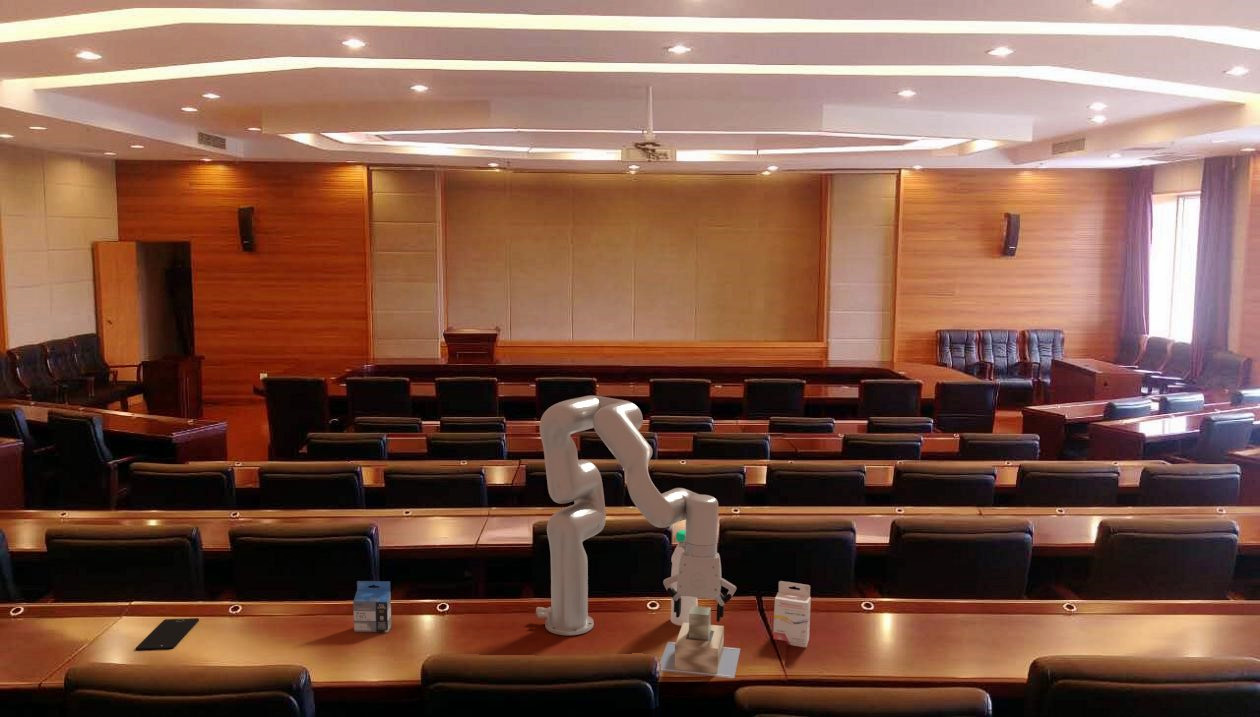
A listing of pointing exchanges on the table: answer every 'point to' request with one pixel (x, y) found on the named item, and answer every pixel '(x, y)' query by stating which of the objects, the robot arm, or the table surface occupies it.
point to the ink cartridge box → (792, 614)
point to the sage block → (699, 622)
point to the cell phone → (167, 634)
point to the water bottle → (685, 601)
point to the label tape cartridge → (372, 607)
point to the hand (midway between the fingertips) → (698, 617)
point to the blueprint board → (725, 670)
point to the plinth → (699, 650)
